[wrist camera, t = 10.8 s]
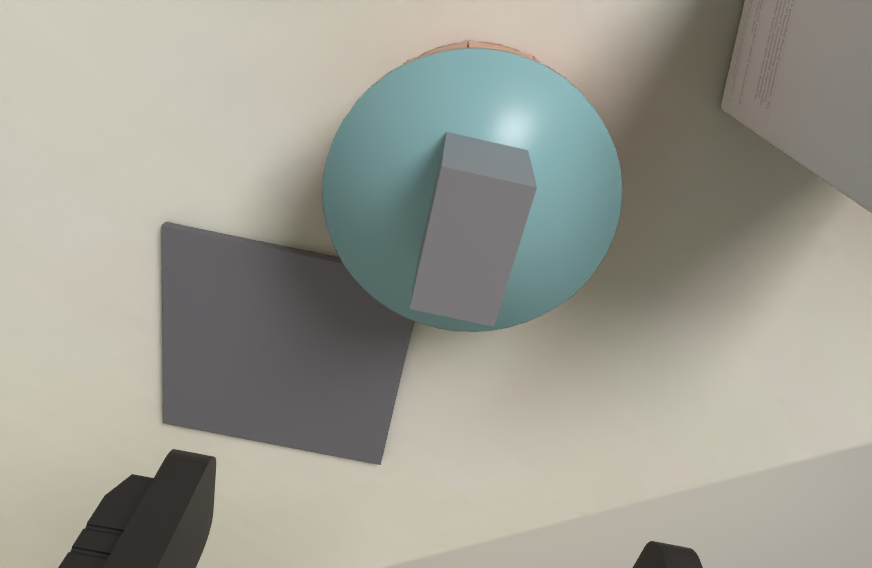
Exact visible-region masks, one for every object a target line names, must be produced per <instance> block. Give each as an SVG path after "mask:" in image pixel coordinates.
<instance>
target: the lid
mask: <svg viewBox="0 0 872 568" xmlns="http://www.w3.org/2000/svg"><path fill="white" fill-rule="evenodd" d="M322 197H323V209H324V215H325V220H326V224H327V229H328V232H329V234H330V237H331V240H332V243H333V245H334V247H335V249H336V251H337V253H338V255H339V257H340V259H341V261H342V262H343V264H344V265H345V267H346V268H347V270H348V271H349V272H350V274H351V275H352V276H353V278H354V279H355V280H356V281H357V282H358V283H359V284H360V285H361V286H362V288H363V289H364V290H366V291H367V292H368V293H369V294H370V295H371V296H372V297H374V298H375V299H376V300H377V301H379V302H380V303H382V304H383V305H385V306H386V307H388V308H389V309H390V310H392V311H394V312H396V313H398V314H400V315H402V316H404V317H406V318H408V319H411V320H413V321H416V322H418V323H421V324H424V325H428V326H432V327H435V328H439V329H446V330H452V331H467V332H478V331H492V330H497V329H503V328H508V327H512V326H515V325H518V324H522V323H525V322H528V321H530V320H532V319H535V318H537V317H539V316H542V315H543V314H545V313H547V312H549V311H550V310H552V309H554V308H556V307H557V306H559V305H560V304H562V303H563V302H564V301H566V300H567V299H568V298H570V297H571V296H572V295H573V294H574V293H575V292H577V291H578V290H579V289H580V288H581V287H582V286H583V285H584V284H585V283H586V282H587V280H588V279H589V278H590V277H591V276H592V274H593V273H594V272H595V271H596V269H597V268H598V266H599V265H600V263H601V262H602V260H603V258H604V257H605V255H606V253H607V251H608V249H609V247H610V245H611V243H612V240H613V238H614V235H615V232H616V229H617V225H618V222H619V217H620V211H621V205H622V178H621V169H620V163H619V160H618V156H617V152H616V149H615V146H614V143H613V141H612V139H611V136H610V134H609V132H608V130H607V128H606V126H605V125H604V123H603V121H602V120H601V118H600V116H599V115H598V113H597V112H596V110H595V109H594V107H593V106H592V105H591V103H590V102H589V101H588V100H587V99H586V98H585V96H584V95H583V94H582V93H581V92H580V91H579V90H578V89H577V88H576V87H575V86H574V85H573V84H571V83H570V82H569V81H568V80H567V79H566V78H565V77H563V76H561V75H560V74H558V73H557V72H555V71H554V70H552V69H551V68H549V67H548V66H546V65H544V64H541V63H539V62H537V61H535V60H533V59H531V58H529V57H525V56H522V55H519V54H516V53H512V52H509V51H504V50H498V49H491V48H471V47H465V48H457V49H448V50H442V51H439V52H435V53H431V54H427V55H424V56H421V57H419V58H416V59H414V60H411V61H409V62H407V63H404V64H403V65H401V66H399V67H398V68H396V69H394V70H392V71H391V72H389V73H387V74H386V75H385V76H383V77H382V78H381V79H380V80H378V81H377V82H376V83H375V84H373V85H372V86H371V87H370V88H369V89H368V90H367V91H366V92H365V93H364V94H363V95H362V96H361V97H360V98H359V99H358V101H357V102H356V103H355V105H354V106H353V107H352V109H351V110H350V112H349V113H348V114H347V116H346V117H345V119H344V120H343V122H342V124H341V125H340V127H339V129H338V131H337V133H336V135H335V137H334V139H333V142H332V144H331V147H330V150H329V153H328V156H327V160H326V165H325V170H324V175H323V190H322Z"/></svg>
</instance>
